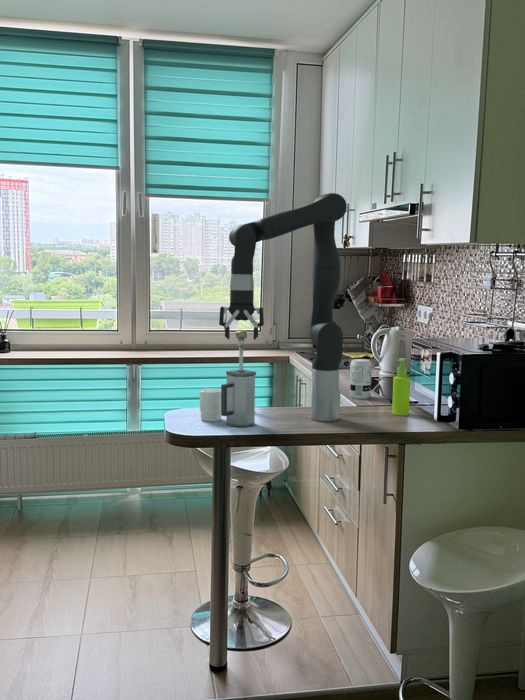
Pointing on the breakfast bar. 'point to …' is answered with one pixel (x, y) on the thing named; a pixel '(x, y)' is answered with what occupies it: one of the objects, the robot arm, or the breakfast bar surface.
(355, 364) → the supplement can
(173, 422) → the breakfast bar surface
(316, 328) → the robot arm
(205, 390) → the white cup
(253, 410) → the carafe
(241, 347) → the plunger
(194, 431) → the breakfast bar surface
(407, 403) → the soap dispenser
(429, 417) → the breakfast bar surface
